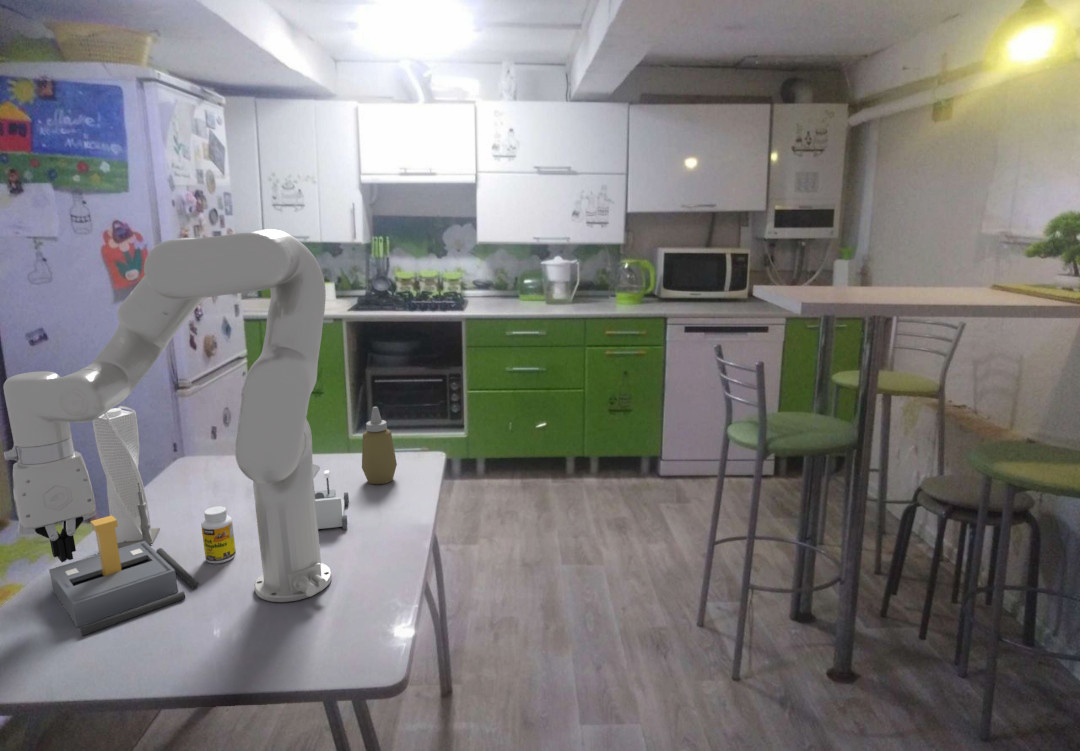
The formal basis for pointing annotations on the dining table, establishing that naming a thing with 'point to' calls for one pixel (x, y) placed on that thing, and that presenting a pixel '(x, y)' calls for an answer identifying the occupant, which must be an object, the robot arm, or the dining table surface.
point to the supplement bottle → (218, 535)
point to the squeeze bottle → (378, 451)
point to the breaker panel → (112, 583)
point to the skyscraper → (123, 475)
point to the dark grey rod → (178, 568)
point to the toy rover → (330, 505)
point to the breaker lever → (107, 544)
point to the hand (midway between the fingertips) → (65, 557)
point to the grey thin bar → (132, 613)
